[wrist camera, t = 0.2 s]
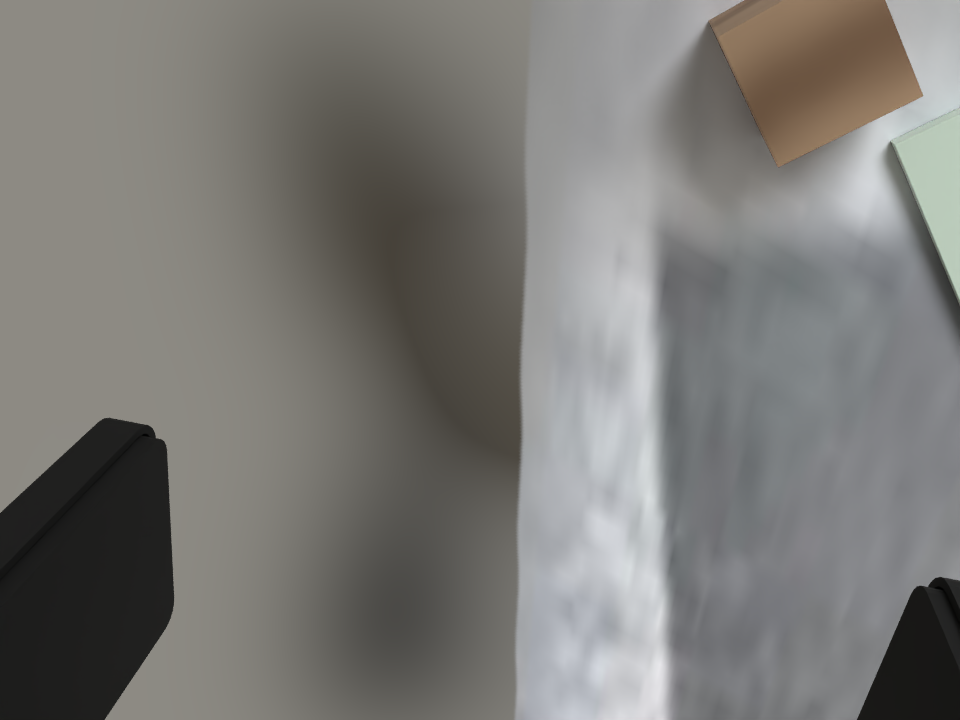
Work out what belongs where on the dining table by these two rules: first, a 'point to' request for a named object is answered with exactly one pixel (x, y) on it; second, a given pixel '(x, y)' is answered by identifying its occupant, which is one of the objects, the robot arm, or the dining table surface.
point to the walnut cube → (815, 68)
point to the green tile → (936, 184)
